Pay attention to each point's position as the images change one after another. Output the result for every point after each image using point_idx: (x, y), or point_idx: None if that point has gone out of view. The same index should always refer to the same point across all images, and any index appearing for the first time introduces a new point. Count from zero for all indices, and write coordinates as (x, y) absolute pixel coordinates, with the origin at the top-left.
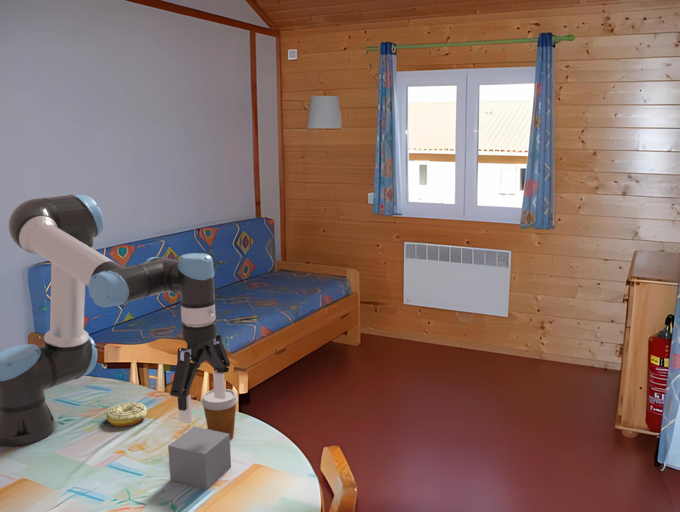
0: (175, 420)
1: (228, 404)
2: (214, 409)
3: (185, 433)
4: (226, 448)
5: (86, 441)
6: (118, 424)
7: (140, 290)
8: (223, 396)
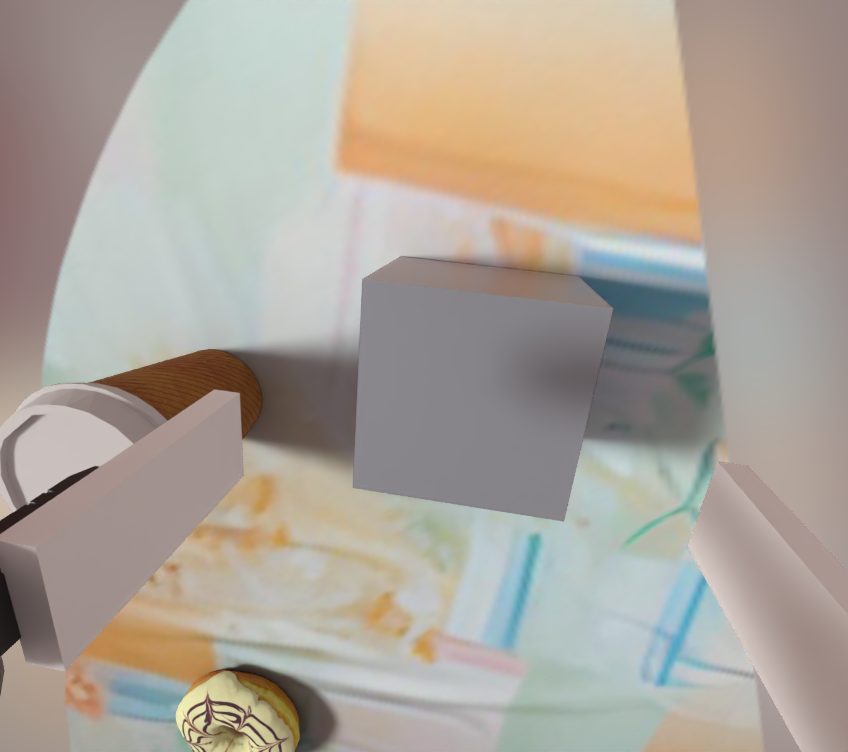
0: (191, 583)
1: (124, 408)
2: None
3: (429, 496)
4: (412, 273)
5: (402, 746)
6: (296, 717)
7: None
8: (225, 405)
